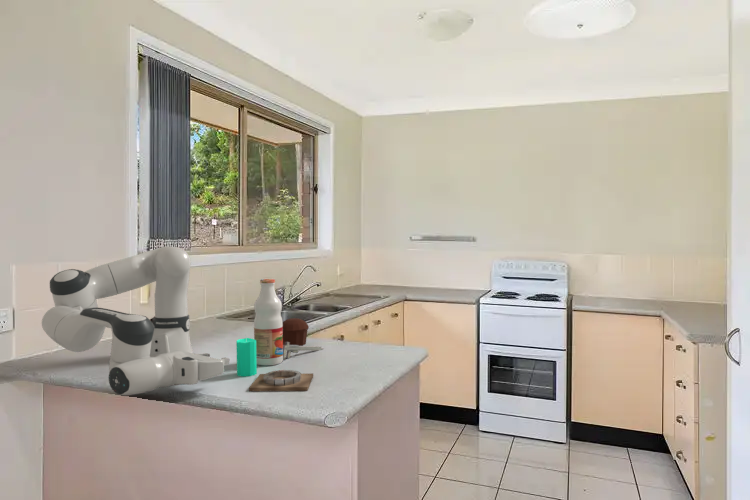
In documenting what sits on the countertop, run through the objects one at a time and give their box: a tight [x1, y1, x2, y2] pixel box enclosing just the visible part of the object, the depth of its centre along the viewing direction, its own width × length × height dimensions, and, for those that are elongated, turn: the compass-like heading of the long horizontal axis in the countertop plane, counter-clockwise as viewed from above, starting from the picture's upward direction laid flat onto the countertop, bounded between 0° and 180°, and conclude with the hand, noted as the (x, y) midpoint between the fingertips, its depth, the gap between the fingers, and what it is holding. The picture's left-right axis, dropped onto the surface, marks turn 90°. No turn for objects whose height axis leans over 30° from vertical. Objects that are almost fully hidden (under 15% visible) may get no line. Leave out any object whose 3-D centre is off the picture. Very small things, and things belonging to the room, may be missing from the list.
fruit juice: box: [253, 278, 284, 367], centre depth 175 cm, size 9×9×28 cm
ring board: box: [248, 373, 314, 392], centre depth 150 cm, size 16×14×1 cm
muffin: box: [282, 317, 310, 346], centre depth 204 cm, size 12×11×10 cm
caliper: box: [283, 342, 324, 361], centre depth 187 cm, size 20×1×6 cm, turn 144°
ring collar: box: [264, 369, 302, 386], centre depth 150 cm, size 10×10×2 cm
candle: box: [235, 334, 258, 378], centre depth 161 cm, size 6×6×12 cm
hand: (218, 358), depth 153 cm, fingers open, 8 cm apart
